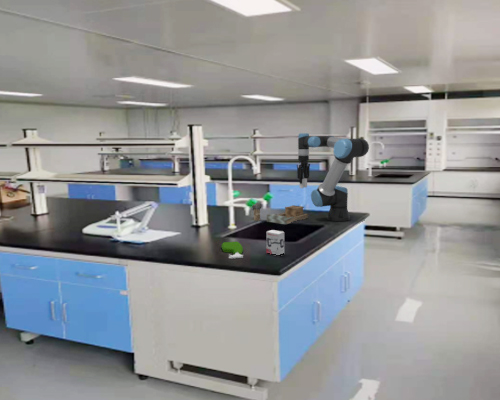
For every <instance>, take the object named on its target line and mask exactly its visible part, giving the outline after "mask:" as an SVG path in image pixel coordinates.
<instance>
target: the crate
mask: <svg viewBox="0 0 500 400" xmlns="http://www.w3.org/2000/svg"><path fill="white" fill-rule="evenodd" d="M284 210H285V212H284V213H285V217H287V218H289V217H296V216H300V215H304V206H301V205H290V206H285V207H284Z"/></svg>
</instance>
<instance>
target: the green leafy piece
mask: <svg viewBox="0 0 500 400" xmlns="http://www.w3.org/2000/svg"><path fill="white" fill-rule="evenodd" d="M221 249H222V252H224V253H227V254H228V259H229V260H231V259H232V260H233V259H242V258H244V254H242V253H243V252H244V249H243V246H242V244H241V243H240V242H239V241H226V242H225V241H224V242H223V243H221Z"/></svg>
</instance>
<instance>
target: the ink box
mask: <svg viewBox="0 0 500 400" xmlns="http://www.w3.org/2000/svg"><path fill="white" fill-rule="evenodd" d="M265 235H266V241H265V242H266V251H265V252H266V254H267V253H270V254H269V255H271V254H276V255H280V254H283V253H284V254H285V232H284V231H283V230H275V229H271V230H270V229H269V230H267V231H266V234H265ZM276 255H275V256H276Z"/></svg>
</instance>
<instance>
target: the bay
mask: <svg viewBox="0 0 500 400" xmlns="http://www.w3.org/2000/svg"><path fill="white" fill-rule="evenodd" d="M306 218H307V219H308V218H309V213H305V214H304V213H303V215H300V216H296V217H289V218H287V217H285V212H283V213H278V214H276V213H274V214H272V213H267V214H266V222H268V223H275V224H280V225H288V224H292V223H294V222H293V221H296V222H298V221H297V220H300V221H303V220H306ZM302 219H303V220H302ZM291 222H292V223H291Z"/></svg>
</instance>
